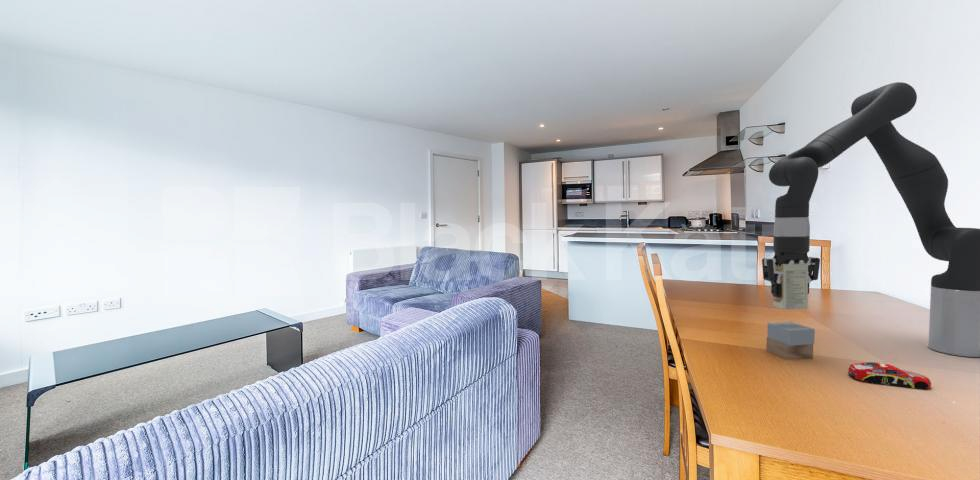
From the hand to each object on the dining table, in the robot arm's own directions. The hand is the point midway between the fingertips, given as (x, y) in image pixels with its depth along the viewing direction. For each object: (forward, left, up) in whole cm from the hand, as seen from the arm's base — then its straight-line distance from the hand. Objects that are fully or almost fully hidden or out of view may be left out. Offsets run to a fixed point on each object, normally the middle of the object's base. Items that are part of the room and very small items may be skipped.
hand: (789, 296), depth 101 cm
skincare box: (0, 0, -3) cm, 3 cm away
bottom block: (0, 0, -16) cm, 16 cm away
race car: (-8, +18, -16) cm, 25 cm away
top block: (0, 0, -12) cm, 12 cm away
